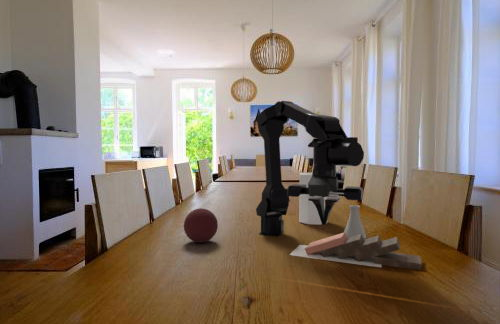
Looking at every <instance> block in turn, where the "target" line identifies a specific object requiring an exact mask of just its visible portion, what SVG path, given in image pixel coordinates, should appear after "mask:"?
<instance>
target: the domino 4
mask: <svg viewBox="0 0 500 324" xmlns="http://www.w3.org/2000/svg"><path fill="white" fill-rule="evenodd" d="M396 251H400V241H399V239H398V236H395V237H392V238H388V239H385V240H381V246H380V248H377V249H374V250H370V251H367V252H363V253H360V254H356V255H355V256H356V259H357V261H360V260H364V259H368V258H371V257H375V256H379V255H382V254H386V253H390V252H396Z"/></svg>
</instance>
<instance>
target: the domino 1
mask: <svg viewBox="0 0 500 324" xmlns="http://www.w3.org/2000/svg"><path fill="white" fill-rule="evenodd" d="M346 240H347V236H346V233H345V232H344V231H343V232H340V233H338V234H334V235H332V236H327V237H324V238H322V239H319V240H318V239H317V240H315V241H311V242H310V243H308V245H307V247H306V248H305V251H306V253H307V255H308V254H311V253H315V252H318V251H321V250H325V249H328V248H332V247H335V246H339V245H342V244H344V243H345V241H346Z"/></svg>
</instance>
